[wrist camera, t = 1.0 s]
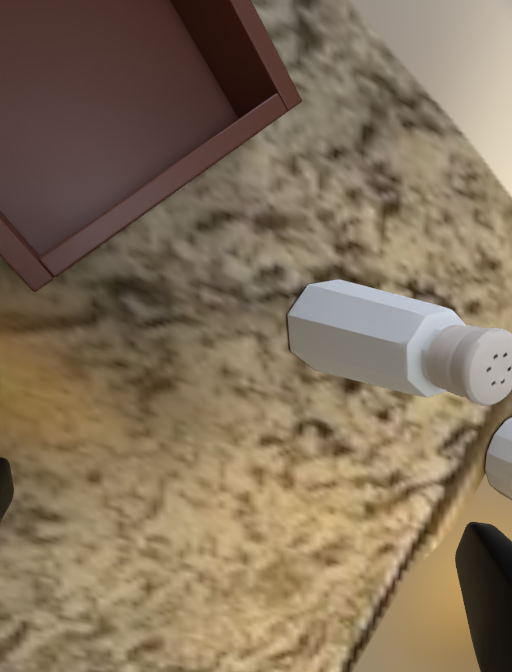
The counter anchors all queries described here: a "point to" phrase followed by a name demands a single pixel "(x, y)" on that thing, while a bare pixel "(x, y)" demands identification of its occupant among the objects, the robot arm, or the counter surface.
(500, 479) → the white cup
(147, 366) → the counter surface
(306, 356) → the salt shaker
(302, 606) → the counter surface
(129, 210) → the bin
